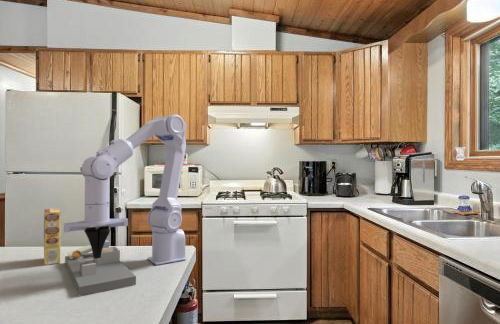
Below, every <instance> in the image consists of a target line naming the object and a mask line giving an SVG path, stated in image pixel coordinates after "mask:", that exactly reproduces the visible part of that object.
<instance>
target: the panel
mask: <svg viewBox="0 0 500 324" xmlns="http://www.w3.org/2000/svg"><path fill="white" fill-rule="evenodd" d="M108 248H114V251H110V252H103V253H101V258H96V259H94V257H93V251H91V252H89V253H86V254H84V255H81V257H82V258H83V260H84V261H85V262H86V263H87V264H85V265H81V264H80V262H79V261H78V260H77V259H74V258H73V259H70V258H69V256H68V255H66V256H64V264H65V266H66V269H67V270H68V273H69V275H70V278H71V280H72V283H73V285H74V287H75V289H76V291H77V294H78V296H79V297H81V296H82V297H83V296H88V295H92V294H97V293H102V292H103V293H104V292H108V291H112V290H116V289H122V288H126V287H131V286H136V285H137V276H136V275H135V274H134V273H133V272H132V271H131V270H130V269H129V268H128V267H127V266H126V265H125V264H124V263H123V262H121V259H120V257H121V254H120V253H121V251H120V249H119V248H118V247H116V246H109V247H108Z"/></svg>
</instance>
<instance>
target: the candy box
mask: <svg viewBox="0 0 500 324" xmlns="http://www.w3.org/2000/svg"><path fill="white" fill-rule="evenodd" d="M43 212H44V214H43V255H44V256H43V260H44V261H43V262H44V263H43V264H44V266H49V265H54V264H61V238H62V237H61V236H62V235H61V231H62V230H61V210H60V208H47V209H44V211H43Z"/></svg>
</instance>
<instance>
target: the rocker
mask: <svg viewBox="0 0 500 324" xmlns="http://www.w3.org/2000/svg"><path fill="white" fill-rule="evenodd" d="M76 250H78V251H80V252H81V255H84V254H86V253H92V252H93V251H92V247H91V244H88V245H86V246H82V247H80V248H77V249H75V250H71V251H69V252H67V256H69V258H70V259H73V257H72V253H73V252H74V251H76Z"/></svg>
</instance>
